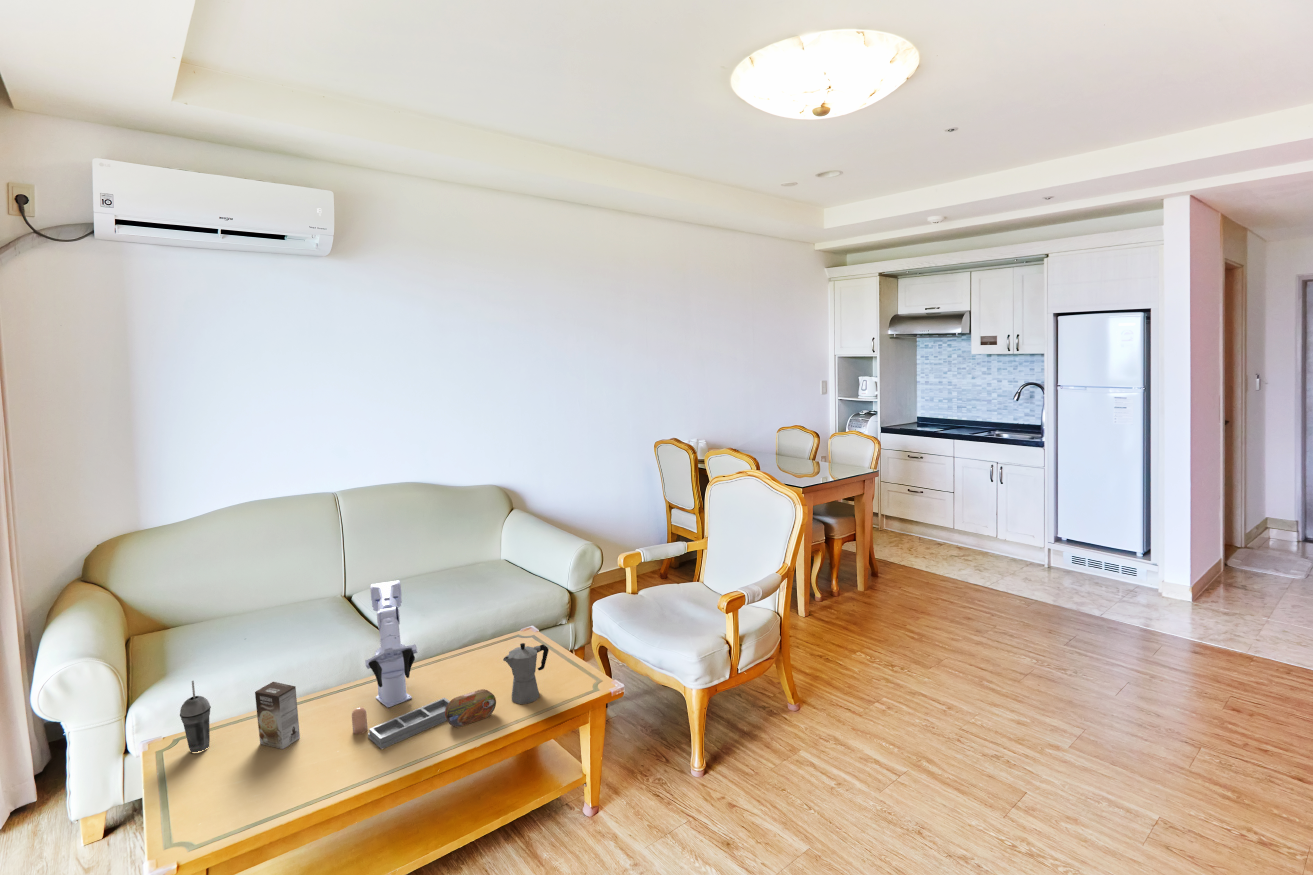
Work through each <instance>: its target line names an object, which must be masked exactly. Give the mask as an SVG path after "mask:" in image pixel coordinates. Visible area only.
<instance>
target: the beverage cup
mask: <svg viewBox="0 0 1313 875" xmlns="http://www.w3.org/2000/svg"><path fill="white" fill-rule="evenodd" d="M191 690H192V696H191V697H189V698H187V699H186V700H185V701H184V702H183V704H181V707H180V711H179V717H180V719H181V722H182V723H183V728H184V733H185V736H186V741H187V746H188V748H189V751H191V752H198V751H202V750H205V749H206V748H208V747H209V748H210V742H211V741H210V736H211V735H210V715H211V708H212V707H211V705H210V702H209V699H207V698H206V697H204V696H201V695H196V690H195V681H194V680H191ZM209 748H208V749H209Z"/></svg>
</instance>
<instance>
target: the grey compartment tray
mask: <svg viewBox="0 0 1313 875" xmlns="http://www.w3.org/2000/svg"><path fill="white" fill-rule="evenodd" d="M450 701H451V700H449V699H447V698H446V697H442V698H440V699H437V700H435V701H432V702H430V703H428V704H425V705H423V706H421V707H418V708H416V709H414V710H411V711H408V712H407V713H403V714H401V715H400V716H399V715H398V716H396V717H394V718H392V719H389V720H387V721H384V722H382V723H379V724H377V725H375V726H372V727H370V728H368V731H369V732H368V733H367V738H368V739H370V741H371V742H373V744H375V745H376V746H377V747H378V748H380V749H381V750H384V749H386V748H388V747H390V746H392V745H394V744H396V743H397V744H398V743H399V742H401V741H403V740H406V739H408V738H410V737H412V736H414V735H418V734H419V733H422V732H424V731H425V730H426V731H427V730H428V729H431V728H432V727H435V726H437V725H440V724H442V723H444V722H446V721H447V719H446V717H445V709H446V706H447V705H448V703H449V702H450ZM447 722H448V721H447Z"/></svg>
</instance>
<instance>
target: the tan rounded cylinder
mask: <svg viewBox="0 0 1313 875" xmlns="http://www.w3.org/2000/svg"><path fill="white" fill-rule="evenodd" d="M367 715H368V714H367V710H366V708H364V707H363V706H360V707H359V706H358V707H356V708H355V709H353V710H352V712H351V722H352V723H351V726H352V734H354V735H361V734H364V733H366V732H367V731H369V726H368V716H367Z"/></svg>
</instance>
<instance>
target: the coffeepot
mask: <svg viewBox="0 0 1313 875" xmlns="http://www.w3.org/2000/svg"><path fill="white" fill-rule="evenodd" d="M519 645H520V646H518V647H515V648H514V649H511V650H510V651H509V652H508V654H507V655H505V656H504V658H503V662H505V663H507V665H508V666H509V667H510V669H511V672H512V676H513V681H512V688H511V701H512V702H513V703H515V704H518V705H526V704H527V705H528V704H531V703H533V702H535V701H537V700H538V699H539V698H540V692H539V688H538V682H537V678H536V670H538V671H542V670H544V669H545V666H546V662H547V660H548V659H547V658H548V654H549V651H550V650H549V647H547V646H546V645H545V644H540V645H535V646H529V645H528V646H526V643H524V642H521V643H519ZM542 651H543V653H542V658H541V662H540V664H541V665H540V667H537V659H538V658H537V657H538V653H540V652H542ZM536 668H537V669H536Z"/></svg>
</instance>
